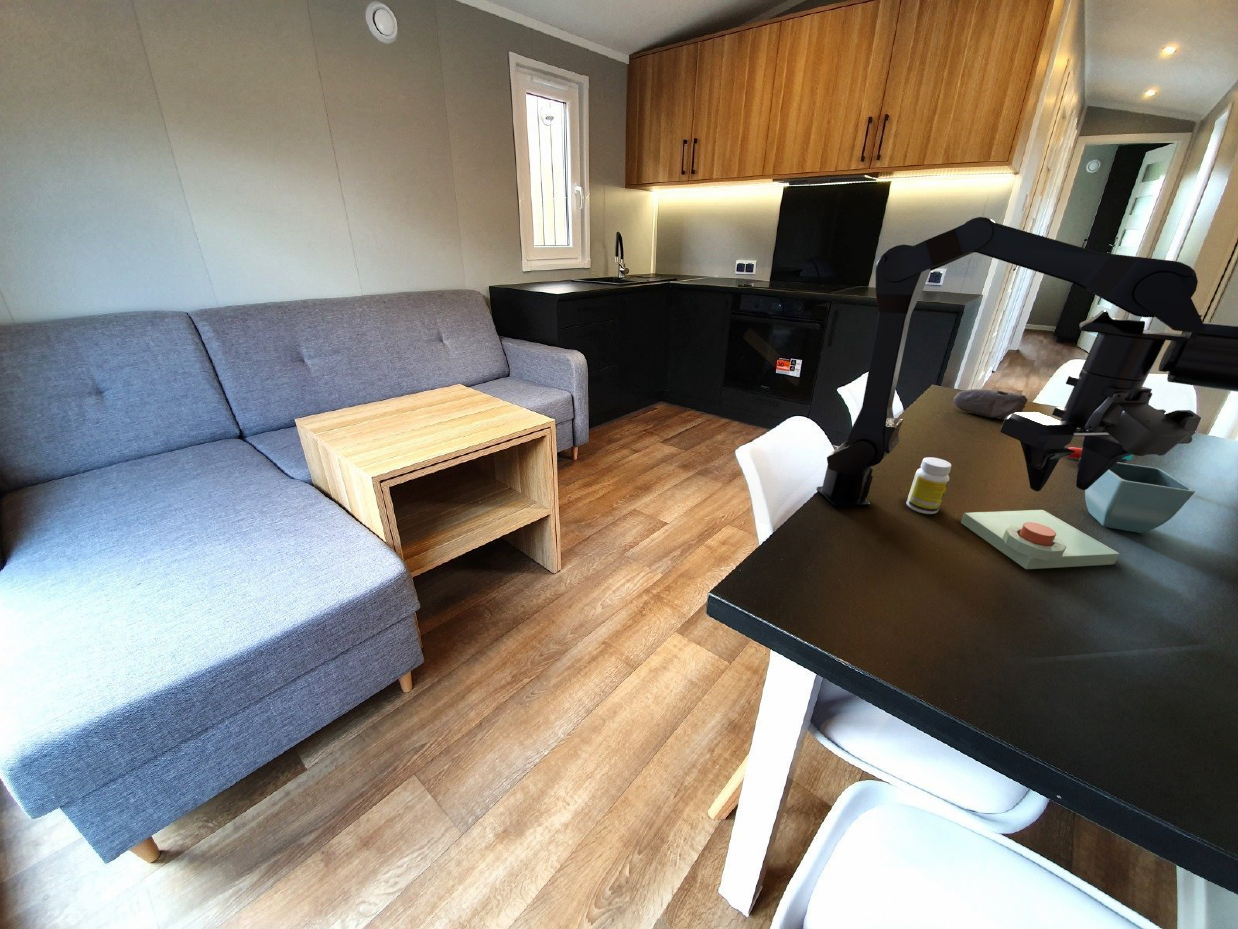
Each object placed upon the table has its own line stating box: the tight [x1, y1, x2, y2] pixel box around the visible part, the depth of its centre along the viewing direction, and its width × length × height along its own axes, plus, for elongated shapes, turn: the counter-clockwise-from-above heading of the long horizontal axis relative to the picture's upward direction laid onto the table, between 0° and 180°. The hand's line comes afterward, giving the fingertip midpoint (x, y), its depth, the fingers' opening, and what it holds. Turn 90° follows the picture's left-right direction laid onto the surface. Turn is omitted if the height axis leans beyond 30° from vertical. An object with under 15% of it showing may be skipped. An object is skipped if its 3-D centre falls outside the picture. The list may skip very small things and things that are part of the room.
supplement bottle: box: [905, 456, 952, 515], centre depth 80 cm, size 5×5×8 cm
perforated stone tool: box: [953, 388, 1029, 421], centre depth 126 cm, size 15×5×7 cm, turn 45°
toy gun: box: [1067, 446, 1134, 467], centre depth 100 cm, size 10×12×5 cm
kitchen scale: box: [960, 509, 1121, 570], centre depth 72 cm, size 15×13×4 cm
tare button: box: [1019, 522, 1056, 546], centre depth 68 cm, size 4×4×2 cm
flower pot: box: [1084, 462, 1196, 534], centre depth 77 cm, size 9×9×9 cm
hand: (1058, 489), depth 65 cm, fingers open, 7 cm apart
